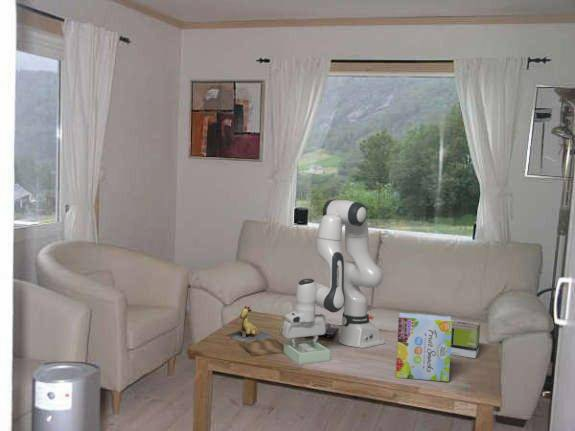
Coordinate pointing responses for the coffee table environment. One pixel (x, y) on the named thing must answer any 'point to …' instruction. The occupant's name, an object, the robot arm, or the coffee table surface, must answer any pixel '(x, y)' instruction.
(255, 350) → the walnut tray
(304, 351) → the stone cube
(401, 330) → the snack box
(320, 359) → the green bin
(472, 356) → the tea box
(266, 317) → the coffee table surface
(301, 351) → the stone cube
